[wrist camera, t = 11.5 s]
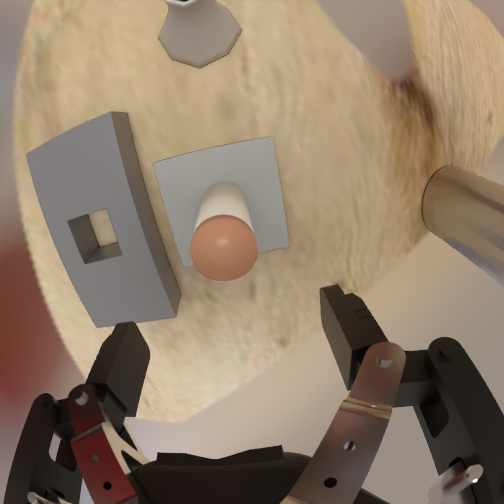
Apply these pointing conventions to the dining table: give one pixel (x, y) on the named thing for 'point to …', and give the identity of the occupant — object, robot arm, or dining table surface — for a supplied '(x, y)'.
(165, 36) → the flask
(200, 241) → the plug
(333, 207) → the dining table surface
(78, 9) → the dining table surface
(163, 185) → the mat
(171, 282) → the grey socket block
